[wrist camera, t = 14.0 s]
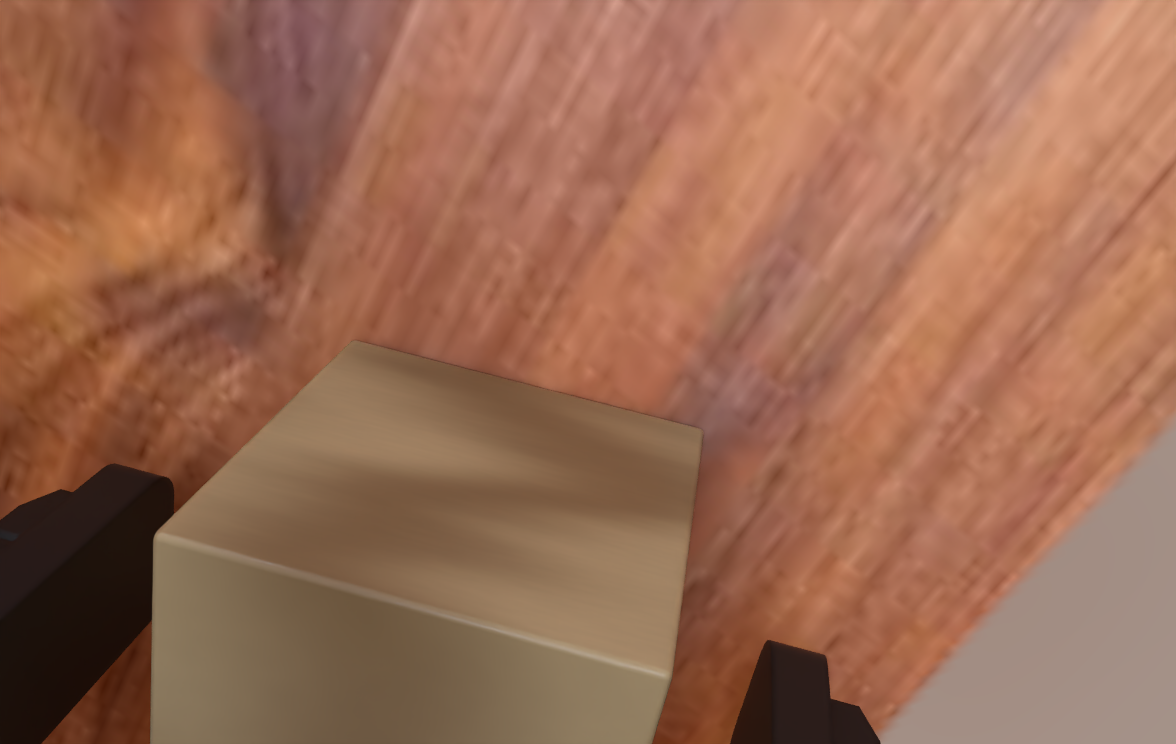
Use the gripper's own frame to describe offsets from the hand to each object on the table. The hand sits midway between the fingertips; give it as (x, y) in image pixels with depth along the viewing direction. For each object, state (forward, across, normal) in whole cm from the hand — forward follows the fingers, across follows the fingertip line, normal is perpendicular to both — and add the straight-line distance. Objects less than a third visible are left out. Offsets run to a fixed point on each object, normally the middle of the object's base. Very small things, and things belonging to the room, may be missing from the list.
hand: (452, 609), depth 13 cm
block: (+2, 0, 0) cm, 2 cm away
